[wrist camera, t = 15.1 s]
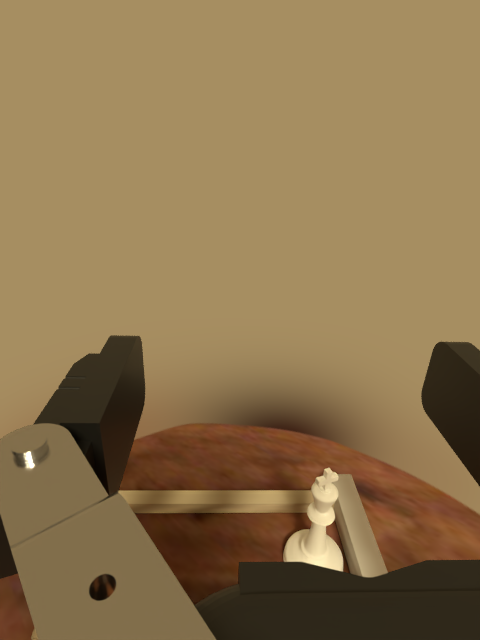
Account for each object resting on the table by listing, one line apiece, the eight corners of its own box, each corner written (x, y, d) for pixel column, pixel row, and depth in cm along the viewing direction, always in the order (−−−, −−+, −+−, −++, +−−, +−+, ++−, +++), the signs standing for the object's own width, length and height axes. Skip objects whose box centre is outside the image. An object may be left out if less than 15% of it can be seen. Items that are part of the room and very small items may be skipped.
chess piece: (273, 544, 34) (282, 455, 30) (321, 526, 36) (337, 440, 32) (302, 601, 30) (317, 507, 26) (355, 577, 32) (378, 486, 27)
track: (28, 661, 26) (21, 639, 25) (92, 493, 38) (88, 474, 37) (402, 653, 27) (410, 632, 26) (347, 492, 39) (350, 474, 38)
